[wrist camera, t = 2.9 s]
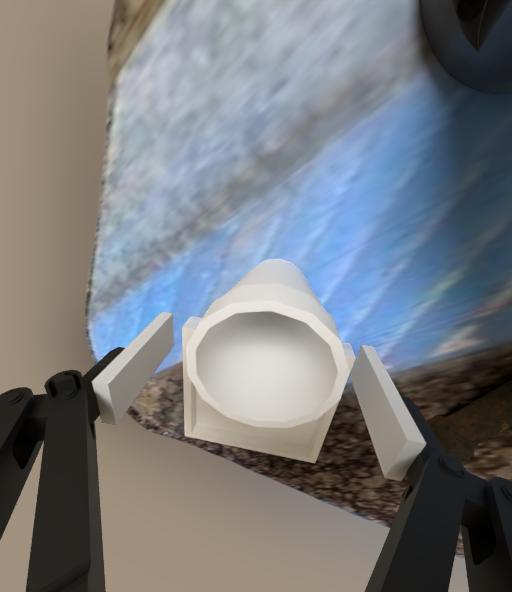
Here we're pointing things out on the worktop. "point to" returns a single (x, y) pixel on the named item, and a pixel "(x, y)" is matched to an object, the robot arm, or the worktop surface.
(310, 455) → the square white tray
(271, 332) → the foam cup
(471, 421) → the hand tool
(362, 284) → the worktop surface
